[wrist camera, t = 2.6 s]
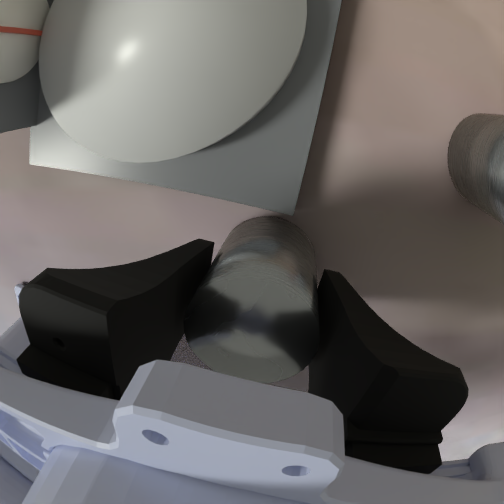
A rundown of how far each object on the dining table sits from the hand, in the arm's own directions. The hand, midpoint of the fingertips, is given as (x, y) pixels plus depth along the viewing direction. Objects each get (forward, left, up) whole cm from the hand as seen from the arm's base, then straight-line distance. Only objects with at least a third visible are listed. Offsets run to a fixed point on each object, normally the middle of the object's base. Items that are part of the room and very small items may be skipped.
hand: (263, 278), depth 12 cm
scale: (+9, +7, -1) cm, 12 cm away
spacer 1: (0, 0, -2) cm, 2 cm away
